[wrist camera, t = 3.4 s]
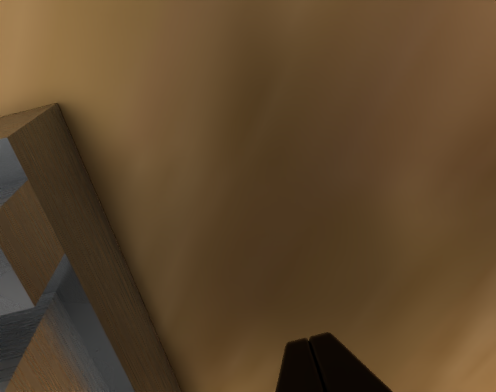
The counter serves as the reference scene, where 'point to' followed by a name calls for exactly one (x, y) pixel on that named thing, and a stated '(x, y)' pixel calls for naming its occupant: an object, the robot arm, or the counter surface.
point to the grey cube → (45, 352)
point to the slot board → (71, 252)
